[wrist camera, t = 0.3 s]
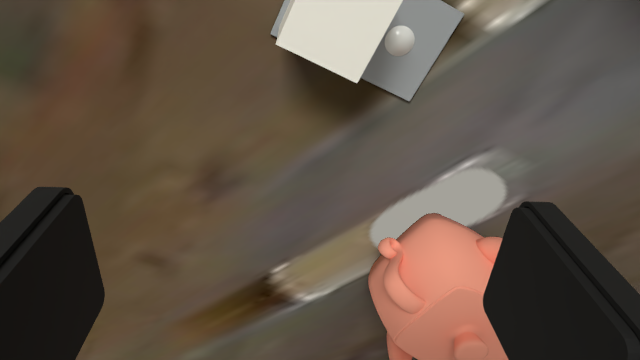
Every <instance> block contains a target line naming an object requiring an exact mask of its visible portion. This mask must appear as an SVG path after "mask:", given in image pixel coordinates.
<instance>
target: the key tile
mask: <svg viewBox="0 0 640 360" xmlns="http://www.w3.org/2000/svg"><path fill="white" fill-rule="evenodd" d="M289 3H290V0H284V3H283V5H282V7H281V10H280V12H279V14H278V17H277V19H276V21H275V24H274V26H273V29H272V31H271V33H270V34H272V35H274V36H276V37H277V36H278V31H279V26H280V23H281V21H282V19H283V17H284V14H285V12H286V10H287V7H288V5H289ZM463 15H464V13H462V12H460V11H458V10H457V9H455V8H453V7H451V6H450V5H448V4H446V3H444V2H443V1H441V0H403V1H402V3H401V5H400V7H399V9H398V10H397V12H396V14H395V16H394V18H393V19H392V21H391V23H390V25H389V27H388V28H387V30H386V32H385V34H384V36H383V38H382V39H381V41H380V43H379V45H378V47H377V48H376V50H375V52H374V54H373V56H372V57H371V59H370V61H369V63H368V65H367V66H366V68H365V70H364V72H363V74H362V76H361V77H360V78H362V79H364V80H366V81H368V82H370V83H372V84H374V85H376V86H378V87H381V88H383V89H385V90H387V91H389V92H391V93H393V94H395V95H397V96H399V97H401V98H403V99H405V100H407V101H410V100H411V98H412V97H413V95H414V94H415V92H416V90H417V89H418V87H419V86H420V84H421V82H422V81H423V79H424V78H425V76H426V74H427V73H428V71H429V70H430V68H431V66H432V65H433V63H434V62H435V60H436V58H437V57H438V55H439V54H440V52H441V51H442V49H443V47H444V46H445V44H446V43H447V41H448V39H449V38H450V36H451V35H452V33H453V31H454V30H455V28H456V27H457V25H458V23H459V22H460V20H461V19H462V17H463Z"/></svg>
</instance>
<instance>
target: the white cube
mask: <svg viewBox="0 0 640 360" xmlns="http://www.w3.org/2000/svg"><path fill="white" fill-rule="evenodd" d="M402 1H403V0H290V3H289V5H288V7H287V10H286V12H285V14H284V17H283V19H282V21H281V23H280V26H279V31H278V36H277V41H276V45H278V46H280V47H282V48H284V49H287V50H289V51H291V52H293V53H295V54H297V55H299V56H301V57H303V58H305V59H307V60H309V61H311V62H314V63H316V64H318V65H320V66H322V67H324V68H326V69H328V70H330V71H332V72H334V73H336V74H339V75H341V76H343V77H345V78H347V79H349V80H351V81H353V82H355V83H358V81H359V79H360V77H361V76H362V74H363V72H364V70H365V68H366V66H367V65H368V63H369V61H370V59H371V57H372V56H373V54H374V52H375V50H376V48H377V47H378V45H379V43H380V41H381V39H382V38H383V36H384V34H385V32H386V30H387V28H388V27H389V25H390V23H391V21H392V19H393V18H394V16H395V14H396V12H397V10H398V9H399V7H400V5H401V3H402Z"/></svg>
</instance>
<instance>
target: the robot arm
mask: <svg viewBox="0 0 640 360" xmlns="http://www.w3.org/2000/svg"><path fill="white" fill-rule="evenodd" d="M104 296H105V292H104V287H103V283H102V279H101V274H100V270H99V266H98V262H97V258H96V254H95V250H94V246H93V242H92V238H91V233H90V229H89V225H88V221H87V217H86V213H85V209H84V205H83V201H82V198H81V197H80V196H79V195H74V193H73V192H72V190H71V189H69V188H63V187H37V188H35V189H34V190H33V191H32V192H31V193H30V194H29V195H28V196H27V197H26V198H25V199H24V200H23V201H22V202H21V203H20V204H19V205H18V206H17V207H16V208H15V209H14V210H13V211H12V212H11V213H10V214H9V215H8V216H6V217H5V218H4V219H3V220H2V221H1V222H0V360H75V359H76V357H77V355H78V353H79V351H80V349H81V347H82V345H83V343H84V341H85V339H86V337H87V335H88V333H89V332H90V330H91V328H92V326H93V324H94V322H95V320H96V318H97V316H98V314H99V312H100V310H101V308H102V306H103V302H104ZM483 307H484V311H485V313H486V315H487V317H488V319H489V321H490V323H491V325H492V327H493V329H494V331H495V333H496V335H497V337H498V339H499V341H500V343H501V346H502V348H503V350H504V352H505V354H506V356H507V358H508V360H640V295H639V293H638V292H637V291H636V290H635V289H634V288H633V287H632V286H631V285H630V284H629V283H628V282H627V281H626V280H625V279H624V278H623V276H622V275H621V274H620V273H619V272H618V271H617V270H616V269H615V268H614V267H613V266H612V265H611V264H610V263H609V262H608V261H607V259H606V258H605V257H604V256H603V255H602V254H601V253H600V252H599V251H598V250H597V249H596V248H595V247H594V246H593V245H592V244H591V243H590V241H589V240H588V239H587V238H586V237H585V236H584V235H583V234H582V233H581V232H580V231H579V230H578V229H577V228H576V227H575V226H574V224H573V223H572V222H571V221H570V220H569V219H568V218H567V217H566V216H565V215H564V214H563V213H562V212H561V211H560V210H559V209H558V207H557V206H556V205H554V204H553V203H550V202H523V203H522V204H521V205H520V207H519V208H515V209H514V210H513V211H512V213H511V216H510V219H509V222H508V225H507V227H506V230H505V233H504V236H503V239H502V242H501V245H500V248H499V251H498V254H497V257H496V260H495V263H494V265H493V268H492V271H491V274H490V277H489V280H488V283H487V286H486V289H485V292H484V295H483Z"/></svg>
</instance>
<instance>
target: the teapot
mask: <svg viewBox="0 0 640 360" xmlns="http://www.w3.org/2000/svg"><path fill="white" fill-rule="evenodd" d="M502 239H503V238H500V237H486V238H484V237H482V236H481V235H480V234H478V233H476V232H475V231H473V230H471V229H470V228H468V227H466V226H464V225H462V224H460V223H458V222H456V221H453V220H451V219H449V218H447V217H444V216H442V215H440V214H437V213H432V214H426V215H424V216H423V217H421V218H420V219H419V220H417V221H416V222H415V223H414V224H413V225H411V226H410V227H409V228H408V229H407V230H406V231H405V232H404V233H403V234H402V235H400V236H399V237H398V238H397V239H396V240H395V239H393V238H385V239H383V240H381V242H380V243H379V245H378V250H379V252H380V253H381V254H382V255H381V256H380V257H379V258H378V259H377V260H376V261H375V263H374V264H373V266H372V268H371V270H370V274H369V279H368V284H369V289H370V293H371V296H372V299H373V302H374V305H375V308H376V310H377V312H378V314H379V316H380V318H381V320H382V322H383V324H384V326H385V328H386V330H387V348H388V354H389V360H412V357H414V358H416V359H418V360H508V358H507V356H506V354H505V352H504V350H503V348H502V346H501V343H500V341H499V339H498V337H497V335H496V333H495V331H494V329H493V327H492V325H491V323H490V321H489V319H488V317H487V315H486V313H485V311H484V307H483V295H484V292H485V289H486V286H487V283H488V280H489V277H490V274H491V271H492V268H493V265H494V263H495V260H496V257H497V254H498V251H499V248H500V245H501V242H502Z"/></svg>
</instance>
